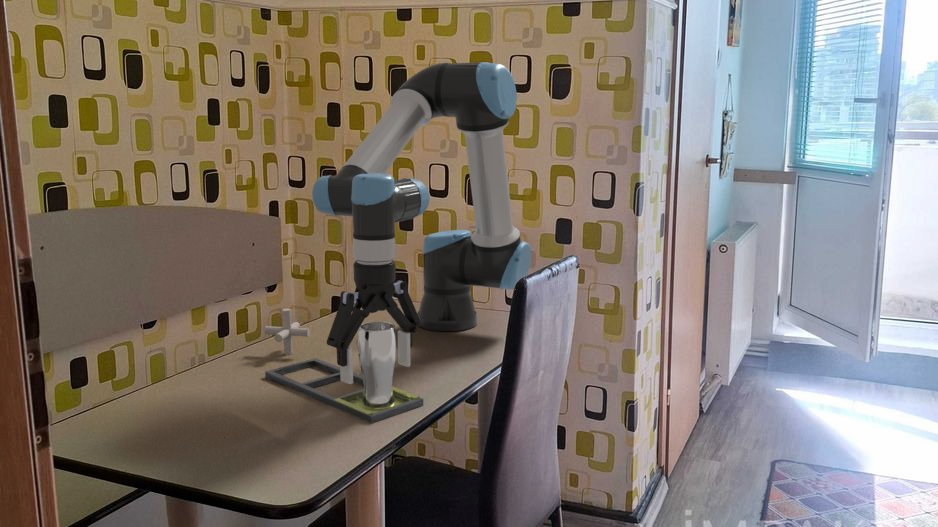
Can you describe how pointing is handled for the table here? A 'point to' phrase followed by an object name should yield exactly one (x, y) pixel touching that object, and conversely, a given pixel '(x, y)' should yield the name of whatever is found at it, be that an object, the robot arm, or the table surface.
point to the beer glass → (377, 363)
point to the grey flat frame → (346, 402)
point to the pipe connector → (287, 331)
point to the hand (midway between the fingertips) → (376, 373)
